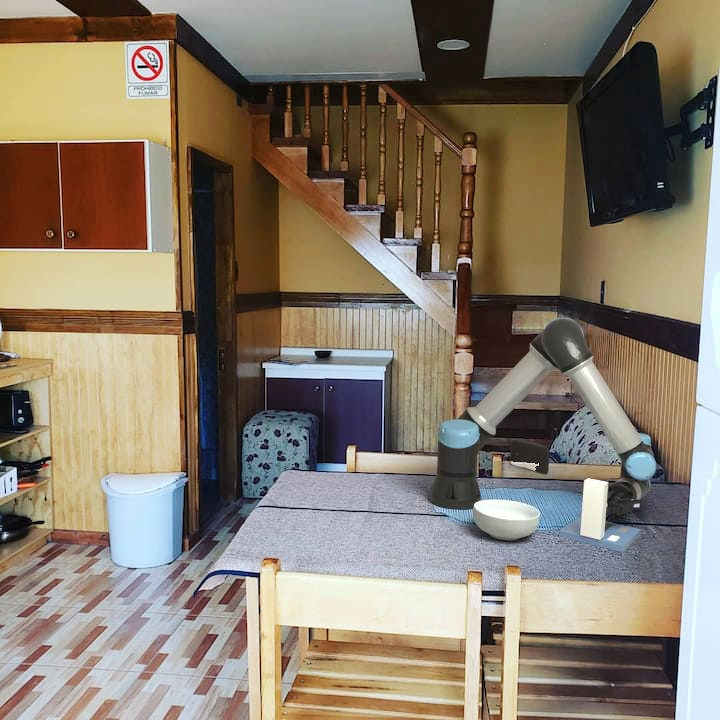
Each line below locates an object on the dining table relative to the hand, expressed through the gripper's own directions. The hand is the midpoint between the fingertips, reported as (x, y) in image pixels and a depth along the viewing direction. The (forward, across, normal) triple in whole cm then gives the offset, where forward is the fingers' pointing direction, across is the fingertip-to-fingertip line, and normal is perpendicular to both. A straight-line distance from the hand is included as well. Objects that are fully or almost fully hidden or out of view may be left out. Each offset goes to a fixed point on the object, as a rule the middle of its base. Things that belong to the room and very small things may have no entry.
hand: (596, 514), depth 172 cm
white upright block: (+2, 0, -5) cm, 6 cm away
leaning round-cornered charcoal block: (-56, +41, -7) cm, 70 cm away
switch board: (-5, 0, -7) cm, 9 cm away
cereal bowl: (+12, +19, -7) cm, 24 cm away
